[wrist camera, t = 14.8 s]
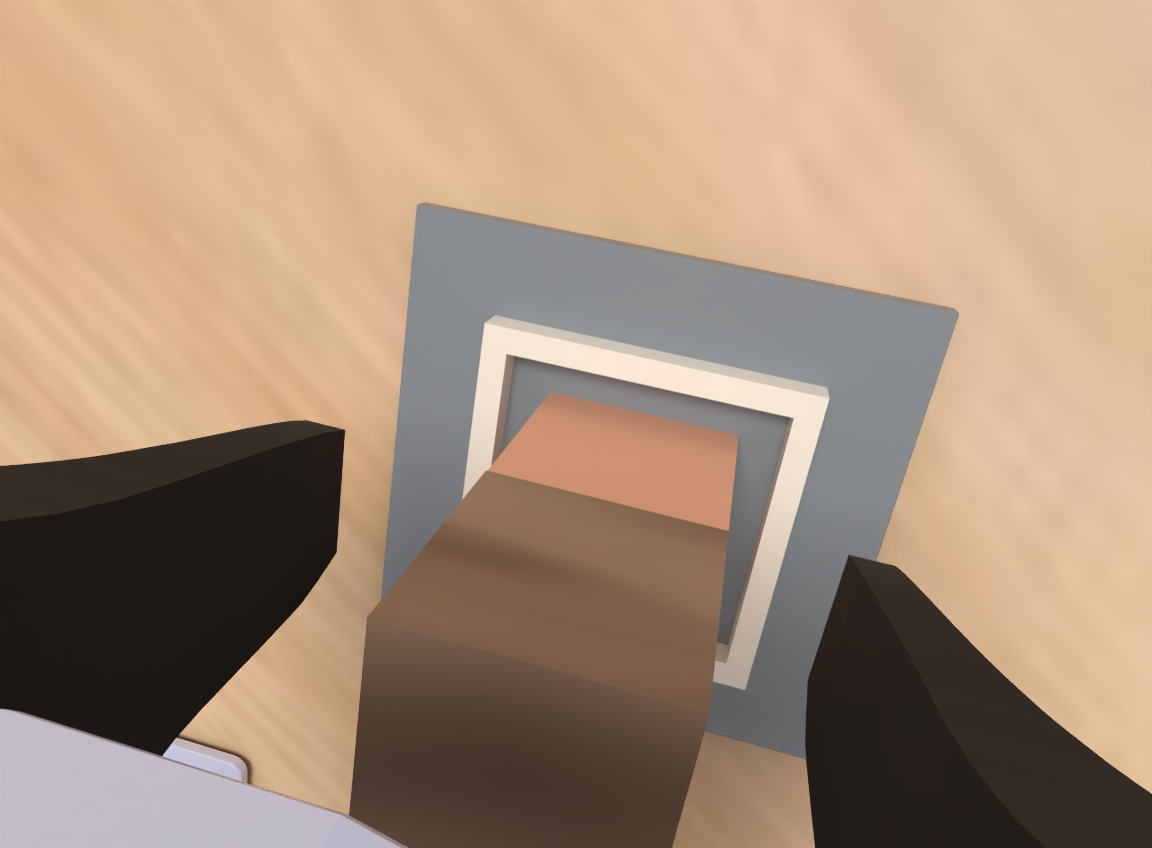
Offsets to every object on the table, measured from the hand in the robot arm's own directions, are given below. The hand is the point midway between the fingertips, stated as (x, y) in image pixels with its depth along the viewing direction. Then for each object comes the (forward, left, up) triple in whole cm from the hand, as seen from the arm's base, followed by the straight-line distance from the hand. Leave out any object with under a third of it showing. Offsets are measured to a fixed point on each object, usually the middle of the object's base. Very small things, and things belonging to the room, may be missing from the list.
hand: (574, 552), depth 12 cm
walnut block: (-3, 0, -3) cm, 5 cm away
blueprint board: (-3, 0, -9) cm, 10 cm away
